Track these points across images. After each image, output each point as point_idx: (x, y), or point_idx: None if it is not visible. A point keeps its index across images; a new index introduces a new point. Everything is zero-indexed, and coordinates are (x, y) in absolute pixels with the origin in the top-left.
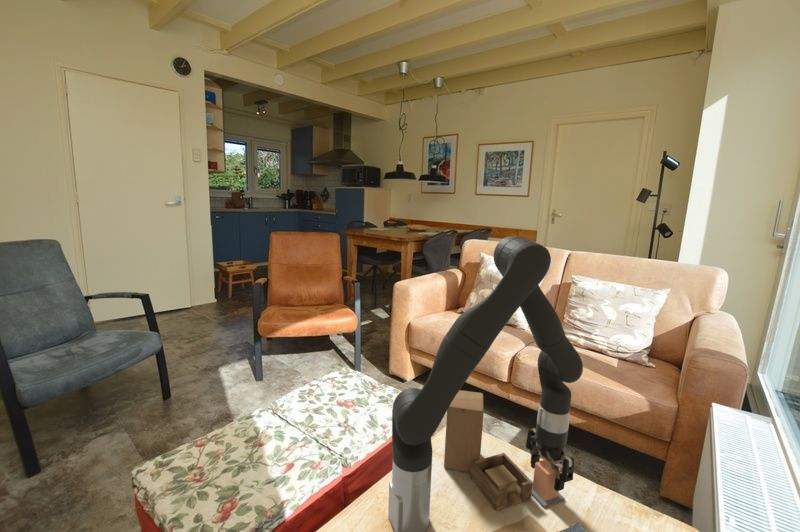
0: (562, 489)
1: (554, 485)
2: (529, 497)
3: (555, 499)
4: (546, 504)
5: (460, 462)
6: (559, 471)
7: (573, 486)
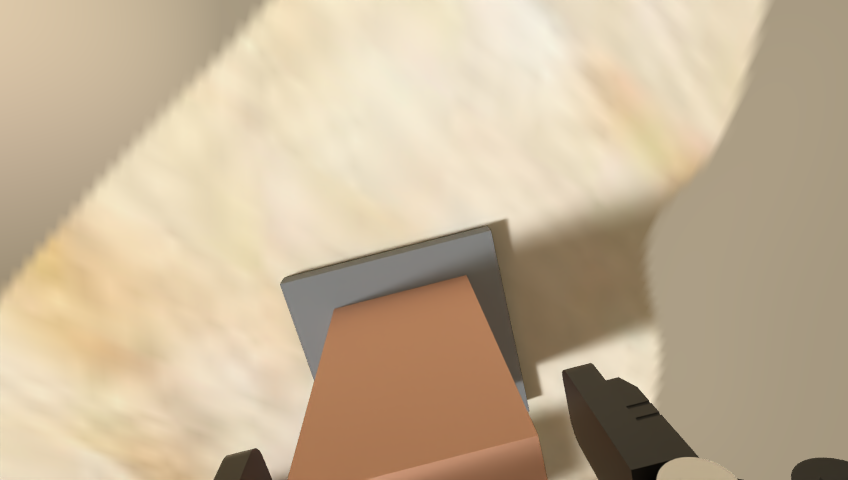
0: (620, 384)
1: (595, 471)
2: None
3: (489, 305)
4: (521, 388)
5: None
6: (539, 450)
7: (354, 58)
